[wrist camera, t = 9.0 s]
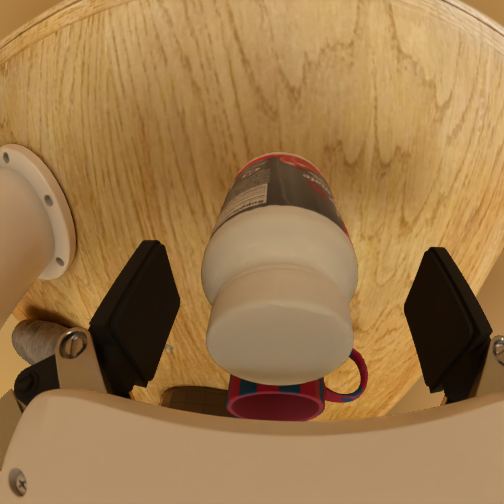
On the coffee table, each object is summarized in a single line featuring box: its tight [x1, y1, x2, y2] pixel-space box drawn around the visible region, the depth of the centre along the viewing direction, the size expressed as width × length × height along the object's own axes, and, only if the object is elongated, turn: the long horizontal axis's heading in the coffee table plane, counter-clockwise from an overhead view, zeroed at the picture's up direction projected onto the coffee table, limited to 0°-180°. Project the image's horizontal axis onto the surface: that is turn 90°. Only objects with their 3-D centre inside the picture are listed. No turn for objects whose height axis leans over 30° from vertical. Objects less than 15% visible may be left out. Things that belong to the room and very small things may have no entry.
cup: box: [226, 348, 368, 421], centre depth 19 cm, size 7×10×7 cm
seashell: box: [12, 319, 69, 365], centre depth 23 cm, size 6×14×8 cm, turn 89°
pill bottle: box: [201, 152, 358, 385], centre depth 11 cm, size 5×5×10 cm
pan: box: [159, 387, 238, 418], centre depth 32 cm, size 15×15×4 cm
